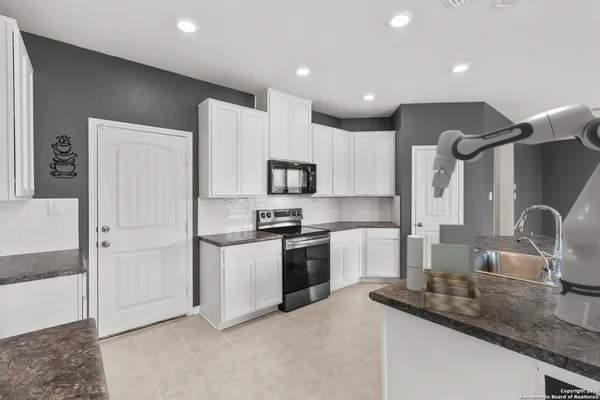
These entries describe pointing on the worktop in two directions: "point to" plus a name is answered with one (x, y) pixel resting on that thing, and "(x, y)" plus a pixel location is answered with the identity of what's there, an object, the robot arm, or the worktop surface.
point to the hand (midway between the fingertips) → (437, 197)
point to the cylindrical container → (414, 262)
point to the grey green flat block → (450, 258)
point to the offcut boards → (450, 284)
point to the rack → (452, 297)
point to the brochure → (459, 239)
